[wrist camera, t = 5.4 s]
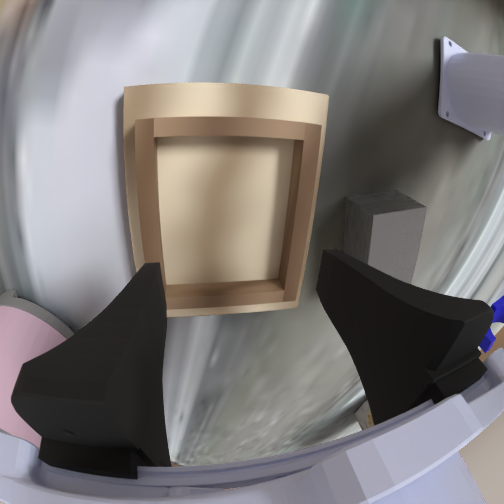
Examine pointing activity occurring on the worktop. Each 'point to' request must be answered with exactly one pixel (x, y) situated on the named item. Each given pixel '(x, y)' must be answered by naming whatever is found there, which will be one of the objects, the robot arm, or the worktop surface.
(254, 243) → the tray
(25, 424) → the blender
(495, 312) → the cable clip
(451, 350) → the robot arm
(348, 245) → the block
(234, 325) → the worktop surface
